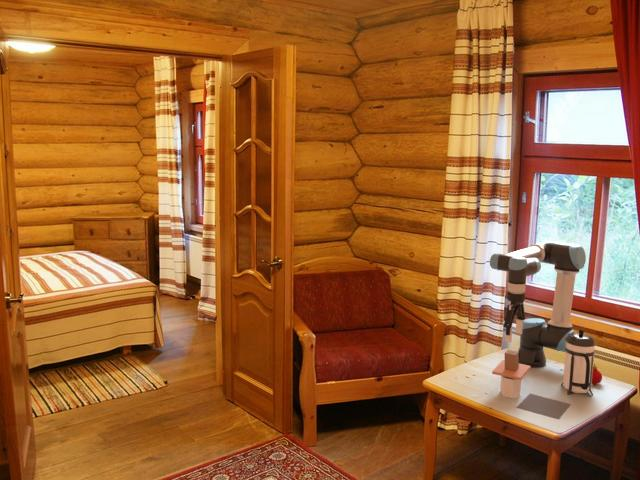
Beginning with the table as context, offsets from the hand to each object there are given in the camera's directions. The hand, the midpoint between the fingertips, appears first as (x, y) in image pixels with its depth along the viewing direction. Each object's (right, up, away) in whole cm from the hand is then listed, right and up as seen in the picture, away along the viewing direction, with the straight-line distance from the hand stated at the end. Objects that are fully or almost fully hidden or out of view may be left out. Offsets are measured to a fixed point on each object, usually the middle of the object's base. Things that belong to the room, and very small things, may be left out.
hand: (513, 337), depth 268 cm
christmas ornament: (+44, -25, +17) cm, 54 cm away
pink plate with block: (0, -16, +3) cm, 16 cm away
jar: (0, -27, +5) cm, 28 cm away
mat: (+11, -29, -7) cm, 32 cm away
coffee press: (+32, -27, +8) cm, 43 cm away
